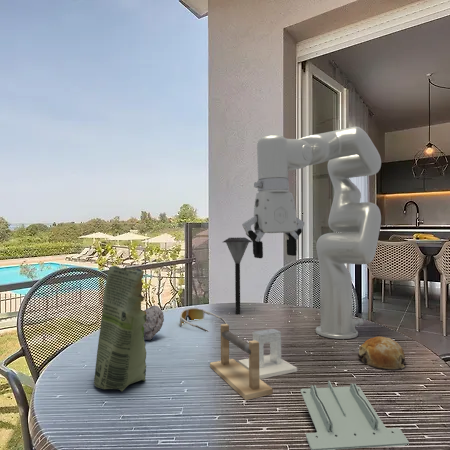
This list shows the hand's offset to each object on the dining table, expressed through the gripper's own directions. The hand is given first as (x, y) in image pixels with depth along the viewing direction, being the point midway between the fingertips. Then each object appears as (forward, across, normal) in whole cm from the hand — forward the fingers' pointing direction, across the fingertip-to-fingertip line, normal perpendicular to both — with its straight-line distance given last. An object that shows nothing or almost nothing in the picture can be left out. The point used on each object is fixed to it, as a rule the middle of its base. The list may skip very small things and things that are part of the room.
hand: (275, 256), depth 85 cm
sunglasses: (+27, -5, +40) cm, 49 cm away
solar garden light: (+27, +13, +49) cm, 57 cm away
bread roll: (+27, +22, -11) cm, 36 cm away
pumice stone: (+26, -26, +32) cm, 48 cm away
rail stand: (+25, -14, -5) cm, 29 cm away
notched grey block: (+25, -5, -2) cm, 25 cm away
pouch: (+25, -37, +4) cm, 45 cm away
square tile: (+26, -5, -2) cm, 26 cm away
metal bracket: (+26, -6, -28) cm, 39 cm away
